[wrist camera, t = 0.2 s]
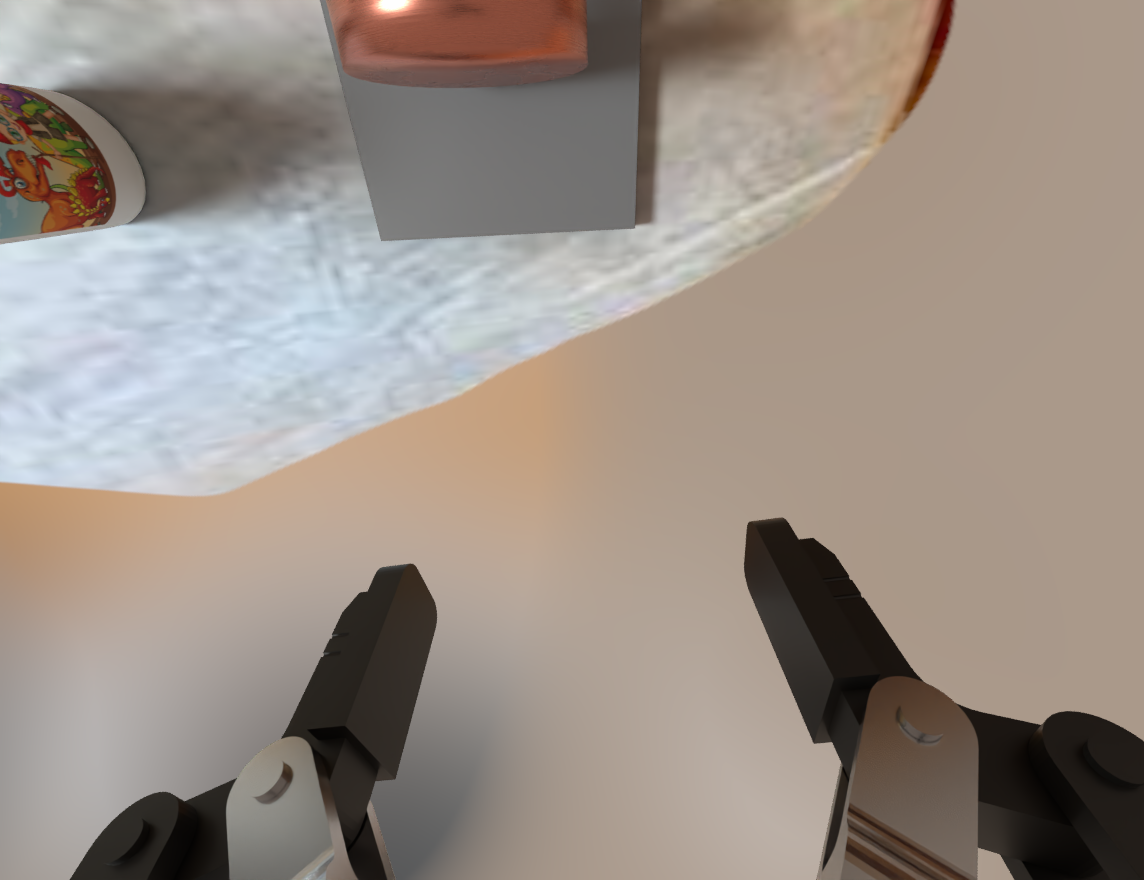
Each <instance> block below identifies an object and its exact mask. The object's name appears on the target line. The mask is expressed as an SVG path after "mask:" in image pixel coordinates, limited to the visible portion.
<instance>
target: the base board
mask: <svg viewBox="0 0 1144 880" xmlns="http://www.w3.org/2000/svg"><path fill="white" fill-rule="evenodd" d="M320 2H321V6H322V10H323V14H324V18H325V22H326V26H327V30H328V34H329V38H330V42H331V45H332V49H333V53H334V57H335V61H336V65H337V69H338V73H339V77H340V81H341V85H342V89H343V93H344V97H345V100H346V104H347V108H348V112H349V116H350V120H351V124H352V128H353V132H354V136H355V140H356V144H357V148H358V152H359V155H360V159H361V163H362V167H363V171H364V175H365V179H366V183H367V187H368V191H369V195H370V199H371V203H372V207H373V210H374V214H375V218H376V222H377V226H378V230H379V234H380V238H381V241H392V240H412V239H432V238H452V237H472V236H493V235H513V234H533V233H553V232H573V231H593V230H614V229H634V228H635V206H636V173H637V141H638V109H639V76H640V44H641V11H642V0H587V48H588V65H587V67H586V68H585V69H583V70H582V71H580V72H578V73H575V74H573V75H569V76H566V77H562V78H558V79H553V80H548V81H542V82H536V83H528V84H520V85H510V86H497V87H478V88H426V87H408V86H397V85H387V84H380V83H374V82H369V81H365V80H360V79H357V78H354V77H352V76H350V75H348V74H346V73H345V72H344V70H343V67H342V63H341V59H340V55H339V51H338V47H337V43H336V39H335V35H334V31H333V27H332V23H331V19H330V15H329V11H328V7H327V3H326V0H320Z"/></svg>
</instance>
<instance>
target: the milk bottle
mask: <svg viewBox="0 0 1144 880" xmlns="http://www.w3.org/2000/svg"><path fill="white" fill-rule="evenodd" d="M145 195H146V187H145V179H144V176H143V172H142V169H141V166H140V164H139V162H138V160H137V158H136V155H135V154H134V152H133V151H132V149H131V148H130V146H129V144H128V143H127V142H126V140H125V139H124V138H123V137H122V136H121V134H120V133H119V132H118V131H117V130H116V129H115V128H114V127H113V126H112V125H111V124H110V123H109V122H108V121H107V120H106V119H105V118H103V117H102V116H101V115H99V114H98V113H97V112H95V111H94V110H93V109H91V108H89V107H88V106H86V105H84V104H83V103H81V102H79V101H77V100H76V99H74V98H71V97H69V96H67V95H64V94H61V93H58V92H54V91H49V90H43V89H37V88H31V87H23V86H16V85H9V84H2V83H0V244H5V243H12V242H19V241H26V240H33V239H40V238H47V237H53V236H60V235H67V234H73V233H80V232H86V231H93V230H99V229H105V228H110V227H115V226H120V225H124V224H127V223H128V222H130V221H132V220H133V219H134V218H135V217H136V216H137V215H138V214H139V212H140V211H141V210H142V207H143V204H144V202H145Z"/></svg>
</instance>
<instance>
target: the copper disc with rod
mask: <svg viewBox="0 0 1144 880" xmlns="http://www.w3.org/2000/svg"><path fill="white" fill-rule="evenodd" d="M326 3H327V7H328V11H329V15H330V19H331V23H332V27H333V31H334V35H335V39H336V43H337V47H338V51H339V55H340V59H341V63H342V67H343V70H344V72H345V73H346V74H348V75H350V76H352V77H354V78H357V79H360V80H365V81H369V82H374V83H380V84H387V85H397V86H408V87H426V88H478V87H497V86H510V85H520V84H528V83H536V82H542V81H548V80H553V79H558V78H562V77H566V76H569V75H573V74H575V73H578V72H580V71H582V70H583V69H585V68H586V67H587V65H588V48H587V0H326Z"/></svg>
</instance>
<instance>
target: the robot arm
mask: <svg viewBox="0 0 1144 880" xmlns="http://www.w3.org/2000/svg"><path fill="white" fill-rule="evenodd" d="M744 572H745V578H746V582H747V586H748V589H749V592H750V594H751V596H752V599H753V601H754V603H755V606H756V608H757V611H758V613H759V616H760V618H761V620H762V623H763V625H764V627H765V629H766V632H767V634H768V637H769V639H770V641H771V643H772V646H773V649H774V651H775V653H776V656H777V658H778V660H779V663H780V665H781V667H782V670H783V672H784V674H785V677H786V679H787V682H788V684H789V686H790V688H791V691H792V693H793V696H794V698H795V700H796V702H797V705H798V707H799V710H800V712H801V714H802V716H803V719H804V722H805V724H806V726H807V729H808V731H809V733H810V736H811V738H812V740H813V743H814V744H815V743H826V742H832V743H833V745H834V747H835V749H836V752H837V754H838V756H839V758H840V760H841V766H840V770H839V775H838V779H837V785H836V789H835V794H834V799H833V804H832V808H831V814H830V818H829V823H828V828H827V832H826V838H825V842H824V847H823V852H822V857H821V861H820V866H819V870H818V875H817V879H816V880H977V859H978V857H977V856H978V848H981V849H985V850H988V851H991V852H994V853H998V854H1000V855H1001V857H1002V859H1003V860H1004V862H1005V864H1006V866H1007V867H1008V869H1009V871H1010V873H1011V874H1012V876H1013V878H1014V880H1144V741H1143V740H1141V739H1140V738H1138V737H1137V736H1136V735H1134V734H1132V733H1131V732H1129V731H1127V730H1126V729H1124V728H1122V727H1120V726H1118V725H1116V724H1114V723H1112V722H1110V721H1107V720H1105V719H1102V718H1100V717H1097V716H1094V715H1090V714H1087V713H1081V712H1072V711H1065V712H1059V713H1056V714H1053V715H1051V716H1050V717H1049V718H1047V719H1046V721H1045V722H1044V723H1043V724H1042V725H1038V724H1033V723H1029V722H1025V721H1020V720H1015V719H1011V718H1006V717H1001V716H996V715H992V714H987V713H983V712H979V711H975V710H971V709H969V708H966V707H963V706H961V705H959V704H956V703H955V702H954V701H952V699H951V698H949V697H948V696H947V695H945V694H944V693H943V692H941V691H940V690H938V689H936V688H935V687H933V686H931V685H929V684H927V683H925V682H923V680H922V679H920V677H919V676H918V675H917V674H916V673H915V672H914V671H913V669H912V668H911V667H910V665H909V664H908V662H907V661H906V659H905V658H904V656H903V655H902V653H901V652H900V651H899V649H898V648H897V646H896V645H895V643H894V642H893V640H892V639H891V637H890V636H889V634H888V633H887V631H886V630H885V628H884V627H883V625H882V624H881V622H880V621H879V619H878V618H877V617H876V615H875V613H874V612H873V610H872V609H871V608H870V606H869V605H868V603H867V602H866V600H865V599H864V598H862V597H861V593H860V591H859V590H858V588H857V587H856V585H855V584H854V583H853V581H852V580H850V579H849V575H848V573H847V572H846V571H845V569H844V568H843V566H842V565H841V563H840V562H839V560H838V559H837V557H836V556H835V554H833V553H832V552H831V551H829V550H828V549H827V548H826V547H824V546H823V545H821V544H820V543H819V542H818V541H816V540H815V539H814V538H808V539H800V540H799V539H798V538H797V536H796V535H795V533H794V531H793V530H792V528H791V526H790V525H789V523H788V522H787V521H786V519H784V518H774V519H767V520H759V521H751V522H749V523H748V525H747V534H746V547H745V561H744ZM436 623H437V610H436V605H435V602H434V599H433V598H432V596H431V594H430V592H429V590H428V588H427V586H426V584H425V582H424V580H423V579H422V577H421V575H420V573H419V571H418V569H417V567H416V566H415V565H414V564H404V565H397V566H389V567H382V568H380V569H379V570H378V571H377V572H376V574H375V576H374V578H373V581H372V583H371V585H370V587H369V590H368V592H361V593H359V594H358V595H357V597H356V598H355V599H354V600H353V601H352V602H351V604H350V605H349V606H348V607H347V608H346V609H345V610H344V611H343V612H342V615H341V617H340V619H339V621H338V623H337V625H336V628H335V629H334V631H333V633H332V639H330V640H329V642H328V644H327V646H326V648H325V650H324V652H323V653H324V656H323V657H321V659H320V661H319V663H318V665H317V667H316V669H315V672H314V673H313V675H312V677H311V680H310V682H309V684H308V686H307V688H306V690H305V692H304V694H303V696H302V698H301V701H300V702H299V705H298V707H297V709H296V711H295V713H294V715H293V718H292V719H291V721H290V724H289V726H288V728H287V729H286V731H285V733H284V735H283V736H282V738H281V739H280V740H278V741H276V742H273V743H272V744H270V745H269V746H267V747H265V748H264V749H263V750H262V751H260V752H259V753H258V754H257V755H256V756H255V757H254V758H253V759H252V760H251V761H250V762H249V763H248V764H247V765H246V766H245V768H244V769H243V770H242V772H241V773H240V774H239V776H238V778H236V779H234V780H232V781H229V782H227V783H225V784H223V785H220V786H218V787H216V788H214V789H212V790H209V791H207V792H205V793H203V794H201V795H198V796H196V797H194V798H192V799H189V800H187V801H183V800H181V799H179V798H178V797H176V796H175V795H173V794H171V793H168V792H158V793H154V794H151V795H149V796H146V797H144V798H142V799H140V800H139V801H137V802H135V803H134V804H132V805H131V806H129V807H128V808H127V809H126V810H125V811H123V812H122V813H121V814H119V815H118V816H117V817H116V818H115V819H114V820H113V821H112V822H111V823H110V824H109V825H108V826H107V827H106V828H105V829H104V830H103V832H102V833H101V834H100V836H98V838H97V839H96V840H95V842H94V843H93V845H92V846H91V848H90V849H89V850H88V852H87V854H86V855H85V857H84V858H83V860H82V861H81V863H80V864H79V866H78V868H77V869H76V871H75V872H74V874H73V875H72V877H71V879H70V880H396V879H395V876H394V873H393V870H392V866H391V863H390V860H389V857H388V853H387V850H386V847H385V844H384V840H383V838H382V834H381V831H380V828H379V824H378V821H377V818H376V815H375V811H374V808H373V805H372V803H371V801H370V797H371V794H372V790H373V787H374V783H375V781H382V780H393V779H395V778H396V775H397V771H398V767H399V764H400V760H401V756H402V752H403V749H404V744H405V741H406V737H407V734H408V730H409V726H410V722H411V718H412V714H413V711H414V707H415V703H416V700H417V696H418V692H419V689H420V685H421V681H422V677H423V673H424V670H425V666H426V662H427V658H428V654H429V651H430V647H431V643H432V639H433V636H434V632H435V628H436Z"/></svg>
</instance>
